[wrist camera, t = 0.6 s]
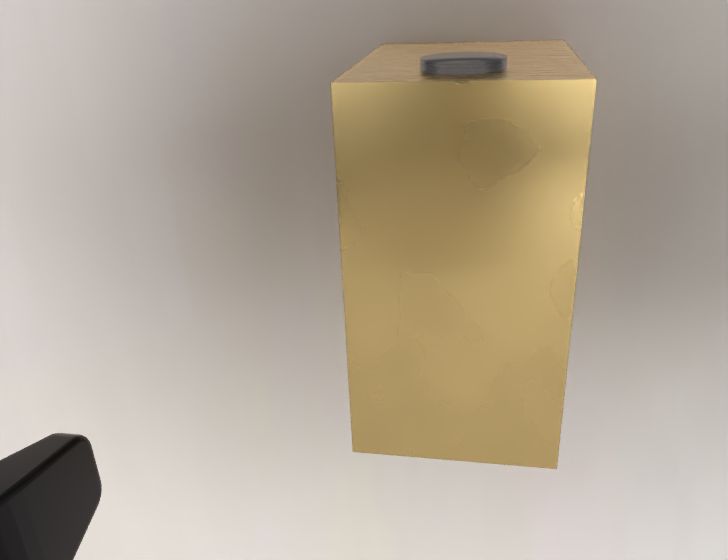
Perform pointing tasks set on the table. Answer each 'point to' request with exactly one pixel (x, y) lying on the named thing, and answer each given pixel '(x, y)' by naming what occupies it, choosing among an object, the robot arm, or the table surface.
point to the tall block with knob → (461, 244)
